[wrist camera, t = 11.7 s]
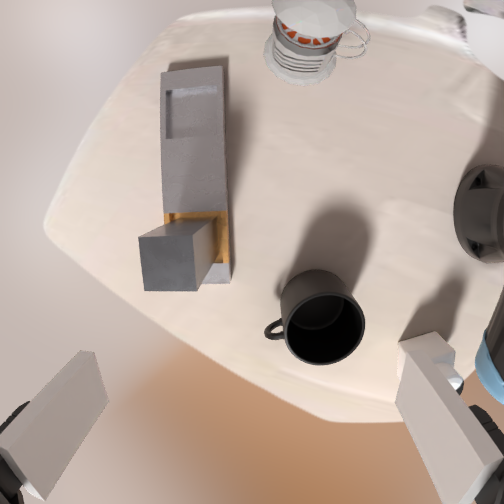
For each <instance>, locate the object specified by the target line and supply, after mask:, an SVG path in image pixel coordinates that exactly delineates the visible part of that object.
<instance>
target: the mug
mask: <svg viewBox="0 0 504 504" xmlns="http://www.w3.org/2000/svg"><path fill="white" fill-rule="evenodd" d="M280 305H281V314H282V318H280V319H279V320H277V321H275V322H273V323H271V324H270V325H268V326H267V327H266V329H265V331H264V334H265V337H266V338H268V339H271V340H279V339H285V343H286V345H287V347H288V349H289V350H290V352H291V353H292V354H293V355H294V356H295V357H296V358H298V359H299V360H301V361H303V362H305V363H308V364H311V365H329V364H333V363H336V362H339V361H341V360H343V359H344V358H346V357H347V356H349V355H350V354H351V353H352V352H353V351H354V350H355V349H356V348H357V346H358V345H359V344H360V342H361V340H362V337H363V335H364V330H365V318H364V314H363V311H362V309H361V307H360V306H359V304H358V303H357V301H356V300H355V299H354V297H353V296H352V295H351V293H350V292H349V290H348V289H347V288H346V286H345V285H344V283H343V282H342V281H341V280H340V279H339V278H338V277H337V276H336V275H334V274H332V273H330V272H327V271H323V270H310V271H306V272H303V273H301V274H299V275H297V276H296V277H294V278H293V279H292V280H291V281H290V282H289V283H288V284H287V286H286V287H285V289H284V291H283V293H282V296H281V303H280ZM278 326H283V331H282V332H280V333H271V331H272V330H273V329H275V328H276V327H278Z"/></svg>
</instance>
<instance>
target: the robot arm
mask: <svg viewBox="0 0 504 504" xmlns="http://www.w3.org/2000/svg"><path fill="white" fill-rule="evenodd" d="M454 226H455V231H456V235H457V238H458V240H459V242H460V244H461V246H462V248H463V249H464V250H465V251H466V253H468V254H469V255H470V256H471V257H473V258H475V259H477V260H480V261H482V262H485V263H499V262H504V168H503V167H501V166H497V165H481V166H478V167H476V168H474V169H472V170H471V171H470V172H469V173H468V174H467V175H466V176H465V177H464V179H463V180H462V182H461V184H460V186H459V188H458V191H457V194H456V198H455V203H454ZM475 367H476V372H477V375H478V377H479V379H480V381H481V383H482V384H483V386H484V387H485V388H486V389H487V391H488V392H489V393H490V394H491V395H492V396H493V397H494V398H495V399H496V400H498V401H499V402H500V403H502V404H503V405H504V287H503V290H502V292H501V295H500V298H499V300H498V303H497V306H496V308H495V311H494V313H493V315H492V318H491V320H490V322H489V325H488V327H487V328H486V330H485V331H484V334H483V340H482V342H481V344H480V347H479V349H478V351H477V354H476V357H475ZM108 402H109V399H108V396H107V393H106V390H105V387H104V384H103V380H102V377H101V374H100V371H99V367H98V363H97V360H96V357H95V353H94V352H88V351H82V350H80V351H79V352H78V353H77V355H76V356H74V358H73V359H71V360H70V361H69V362H68V363H67V364H66V366H65V367H64V368H63V369H62V370H61V371H60V372H59V373H58V374H57V375H56V376H55V377H54V378H53V379H52V380H51V381H50V382H49V383H48V384H47V385H46V386H45V387H44V388H43V389H42V390H41V391H40V392H39V393H38V394H37V396H35V398H34V399H33V400H32V401H31V402H30V401H28V402H26V403H24V404H23V405H21V406H19V407H18V408H17V409H16V410H15V411H14V412H13V413H12V416H9V417H8V419H7V420H6V422H4V423H3V424H2V425H1V426H0V504H24V501H23V495H22V493H21V491H20V490H19V488H20V487H21V486H22V485H23V486H24V487H25V489H26V490H27V491H28V492H29V494H31V495H33V496H35V497H37V498H39V499H41V500H43V501H45V500H46V499H47V497H48V496H49V494H50V492H51V491H52V489H53V488H54V486H55V484H56V483H57V481H58V480H59V478H60V476H61V475H62V473H63V472H64V470H65V468H66V467H67V465H68V464H69V462H70V460H71V459H72V457H73V456H74V454H75V453H76V451H77V449H78V448H79V446H80V445H81V443H82V442H83V440H84V439H85V437H86V436H87V434H88V432H89V431H90V429H91V428H92V426H93V425H94V423H95V422H96V420H97V418H98V417H99V415H100V414H101V413H102V411H103V410H104V408H105V406H106V405H107V404H108ZM395 404H396V406H397V408H398V410H399V412H400V414H401V416H402V418H403V420H404V422H405V424H406V426H407V428H408V430H409V432H410V434H411V436H412V438H413V440H414V442H415V444H416V447H417V449H418V451H419V453H420V455H421V457H422V459H423V461H424V463H425V466H426V468H427V470H428V472H429V474H430V476H431V479H432V481H433V483H434V485H435V488H436V490H437V492H438V494H439V497H440V499H441V501H442V504H471V503H472V502H473V500H474V499H475V501H476V503H477V504H504V434H503V433H502V432H501V430H500V429H498V426H497V425H496V424H495V422H493V420H492V418H491V417H490V416H489V415H488V413H487V412H486V411H485V410H483V409H482V408H480V407H478V406H477V405H473V406H469V407H468V406H467V405H466V403H465V402H464V401H463V399H462V398H461V397H460V396H459V394H458V393H457V392H456V390H455V389H454V388H453V386H452V385H451V384H450V383H449V381H448V380H447V379H446V378H445V376H444V375H443V374H442V373H441V371H440V370H439V369H438V368H437V366H436V365H435V364H434V363H433V361H432V360H431V359H430V358H429V356H428V355H427V354H426V353H425V352H424V350H423V349H421V350H414V351H407V353H406V358H405V363H404V367H403V372H402V376H401V381H400V385H399V389H398V393H397V397H396V400H395Z"/></svg>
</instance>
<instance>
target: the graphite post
mask: <svg viewBox="0 0 504 504" xmlns="http://www.w3.org/2000/svg"><path fill="white" fill-rule="evenodd" d="M138 239H139V249H140V258H141V267H142V275H143V283H144V290H145V291H197V290H198V289H199V287H200V285H201V284H202V282H203V280H204V278H205V277H206V275H207V273H208V272H209V270H210V268H211V267H212V265H213V263H214V262H215V260H216V258H217V257H218V255H219V251H218V232H217V216H211V217H187V218H178V219H175V220H173V221H171V222H169V223H167V224H165V225H163V226H161V227H158V228H156V229H154V230H152V231H150V232H148V233H146V234H144V235H142V236H140V237H138Z"/></svg>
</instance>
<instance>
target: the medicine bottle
mask: <svg viewBox="0 0 504 504" xmlns="http://www.w3.org/2000/svg"><path fill="white" fill-rule="evenodd" d="M421 349H423V350H424V352H425V353H426V354H427V355H428V356H429V358H430V359H431V360H432V361H433V363H434V364H435V365H436V366H437V368H438V369H439V370H440V371H441V373H442V374H443V375H444V376H445V378H446V379H447V380H448V381H449V383H450V384H451V385H452V386H453V388H454V389H455V390H456V392H457V393H458V394H459V396H460V394H461V393H462V390H463V385H464V381H463V378H462V377H461V376H460V375H459V374H458V372H457V371H456V370H455V369H454V360H455V350H454V349H453V348H452V347H451V346H450V345H449V344H448V343H447V342H446V341H445V340H444V339H443V338H442V337H441V336H440V335H439V334H438V333H437V332H436V331H434V332H430V333H427V334H424V335H421V336H417V337H414V338H411V339H407V340H404V341H400V342H399V343H398V368H397V377H398V379H399V380H400V381H401V376H402V372H403V367H404V363H405V358H406V353H407V351H414V350H421Z"/></svg>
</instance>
